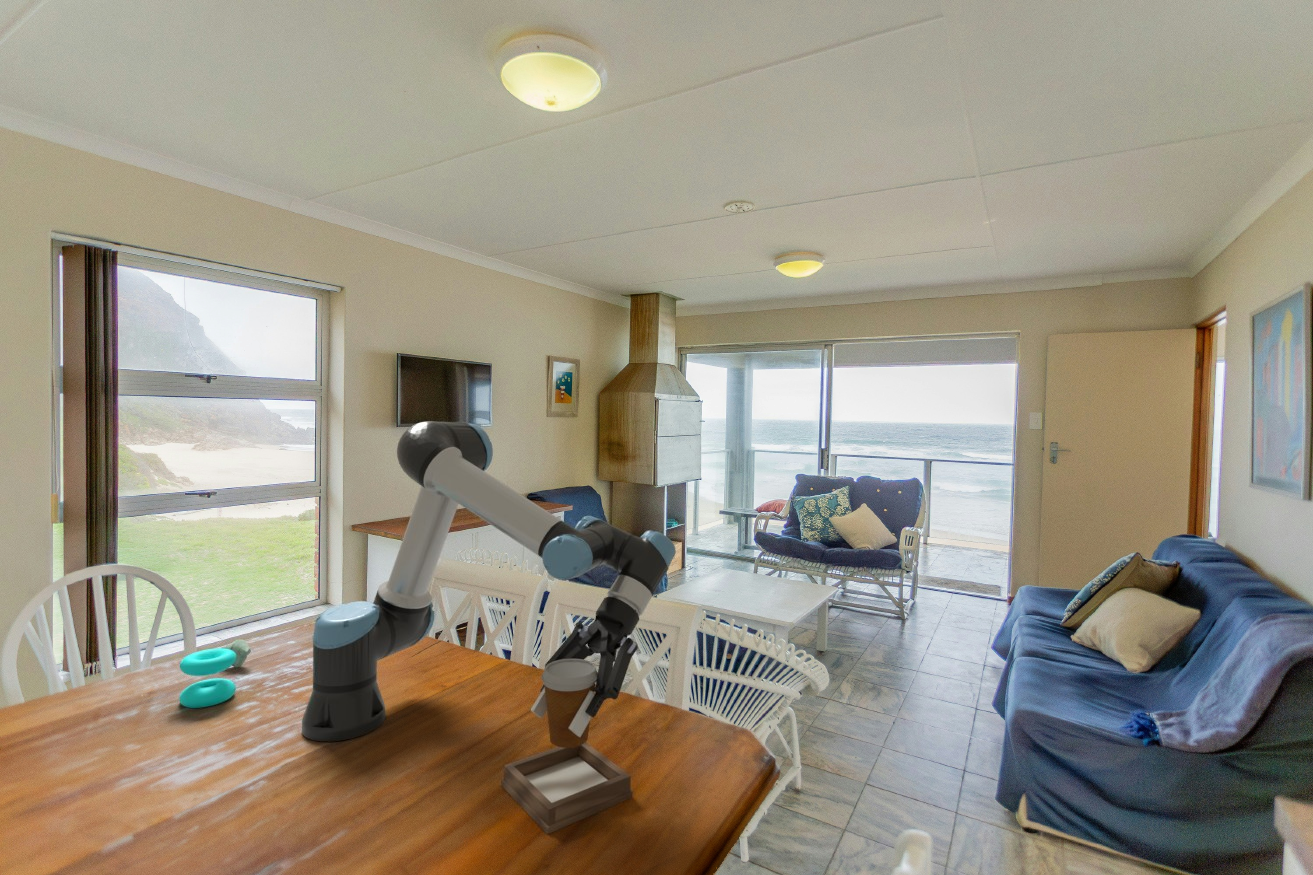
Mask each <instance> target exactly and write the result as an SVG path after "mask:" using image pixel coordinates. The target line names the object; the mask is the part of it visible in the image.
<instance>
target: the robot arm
mask: <svg viewBox="0 0 1313 875" xmlns="http://www.w3.org/2000/svg"><path fill="white" fill-rule="evenodd" d="M396 447H397V448H396V449H397V450H396V456H397V461H398V464H399V465H400V467H401V469H402V471H403V472H404V473H405V474H406V475H407V476H408V477H409V478H410V479H411V480H412V481H413V482H415V483H416V484H418V485H419V486H420V488H419V492H418V494H417V498H416V500H415V502H414V505H413V509H412V511H411V514H410V517H409V520H408V523H407V525H406V529H405V532H404V535H403V538H402V539H401V540H402V541H401V544H400V546H399V550H398V552H397V555H396V558H395V561H394V564H393V566H392V570H391V573H390V576H389V579H388V580H387V581H384V582H382V583H381V584H380V585H379V586H378V589H377V592H376V594H375V597H374V600H373V602H371V601H366V600H363V601H362V600H361V601H360V600H359V601H357V600H356V601H351V602H350V601H349V602H348V603H340V604H337V605H333V606H331V607H329V608H328V609H326V610H324V611H322V612H321V613H320V614H318V616H317V618H316V619H315V622H314V629H313V630H314V631H313V635H312V644H313V645H312V692H311V694H310V697H309V700H308V702H307V704H306V705H307V706H306V708H305V711H304V713H303V716H302V721H301V733H302V734H301V735H303V736H304V737H305V738H306V739H308V740H311V741H317V742H324V743H325V742H329V743H330V742H340V741H345V740H351V739H355V738H358V737H361V736H363V735H366V734H369V733H370V732H372V731H375V730H376V729H377V728H379V727H380V726H382V724H383V723H384V721H385V719H386V705H385V701H384V698H383V696H382V693H381V690H380V687H379V684H378V681H377V680H378V678H377V674H378V672H377V671H378V670H377V669H378V661H381V660H382V659H384V658H386V657H390V656H391V655H393V654H396V653H398V652H400V651H403V650H405V649H408V648H410V647H413V646H415V645H416V644H418V643H419V642H420V641H422V640H423V639H424V638H425V637H426V636H427V635H428V634H429V633H430V632H431V630H432V627H433V626H434V622H435V617H436V616H435V614H436V613H435V611H434V610H433V607H434V605H433V602H432V600H433V597H432V595H431V592H430V591H429V588H430V586H431V582H432V579H433V577H434V573H435V572H436V569H437V565H438V562H439V560H440V557H441V554H442V552H443V548H444V545H445V542H446V539H447V537H448V535H449V531H450V528H451V527H452V526H451V525H452V523H453V520H454V518H455V515H456V512H457V509H458V506H459V505H461V507H463V508H465V509H467V510H468V511H469V512H471V513H472V514H474V515H476V516H477V517H479V519H482V520H483V521H485V522H486V523H488V525H491V526H492V527H494V528H495V529H497V530H499V531H500V532H502V533H503V534H504V535H506V536H507V537H509V538H511V539H512V540H513V541H515V542H517V543H518V544H520V545H521V546H523V547H524V548H526V549H528V550H529V551H530V552H532V553H533V554H535V555H537V556H538V557H539V558H541V559H542V564H543V566H544V568H545V571H546V572H547V574H548V575H550V576H551V577H553V578H554V579H556V580H560V581H567V580H572V579H574V578H579V577H581V576H583V575H584V574H587V573H588V572H590V571H591V570H594V569H596V568H598V567H600V566H602V565H603V566H606V567H607V568H611V569H612V570H614V571H616V572H619V573H618V575H617V577H616V578H615V580H614V582H613V584H612V585H611V587H610V588H609V590H608V591H607V593H606V597H604V598H603V600H602V602H601V603H600V605H599V606H598V608H597V610H596V612H595V619H594V621H593V622H592V623H590V624H589V625H585V624H583V623H582V622H581V621H579V622H577V623H576V624H575V626H574V628H573V630H572V632H571V633H570V634H569V636H568V637H567V638H566V639H565V640H564V642H563V643H562V644H561V645H560V646H559V648H557V650H556V651H555V652H554V653H553V654H552V656H551V657H550V658H549V659H548V661H547V662H545V664H544V668H545V667H546V665H548V664H549V663H551V662H554V661H557V660H562V659H583V660H586V659H587V657H592V656H593V655H594V654H599V655H600V656H599V657H600V658H599V664H598V670H597V672H598V675H597V681H596V683H595V687H594V688H593V690H594V692H592V691H589V693H588V695H587V696H586V698H585V700H584V702H583V703H582V705H581V707H580V709H579V710H578V712H577V714H576V716H575V717H574V719H573V721H572V723H571V724H570V726H569V729H570V730H571V731H572V732H573V733H574V734H576V735H577V736H578V737H581V735H582V733H583V732H584V730H585V728H586V726H587V724H588V723H589V721H590V722H591V719H592V718H595V717H596V716H597V714H598V712H599V710H600V709H601V707H602V705H603V703H604V701H606V700H607V699H612V700H616V699H618V698H619V696H620V695H619V694H620V691H621V689H622V686H623V684H624V681H625V677H626V675H627V672H628V668H629V665H630V663H631V660H632V658H633V656H634V654H636V651H637V650H638V649H639V648H638V647H639V646H638V645H637V643H636V642H635V641H634V640H633V639H632V638H631V637H628V636H631V635H632V633H633V632H634V630H635V628H636V627H637V625H638V623H639V621H640V616H642V615H643V613H644V612H645V610H646V608H647V606H648V604H649V603H650V601H651V599H652V598H653V596H654V593H655V591H657V589H658V586H659V585H660V583H661V582H662V580H663V578H664V576H665V575H666V573H667V572H668V571H669V567H670V565H671V563H672V561H673V559H674V557H675V555H676V552H677V550H676V546H675V544H674V542H673V541H672V540H671V538H669V537H667V536H666V535H665V534H663V533H661V532H660V531H656V530H655V531H654V530H653V529H651V530H646V531H644V533H643V534H642V535H641V536H640V537H639V536H637V535H635V534H632V533H629V532H627V531H625V530H623V529H620V528H619V527H616V526H615V525H612V524H611V523H609V522H606V521H605V520H604V519H601V518H597V517H594V516H592V515H586V516H583V517H582V518H581V520H579V521H578V522H577V523H576V525H575V526H574V527H573V526H572V525H569V524H568V523H566V522H564V521H563V520H562V519H560V518H559V517H557V516H555V515H554V514H552V513H551V512H549V511H548V510H547V509H544V508H543V507H541V506H540V505H538V504H537V503H536V502H533V501H532V500H530V499H528V498H527V497H526V496H524V495H522V494H521V493H519V492H517V491H516V490H515V489H512V488H511V487H510V486H508V485H506V484H505V483H503V482H501V481H500V480H498V479H497V478H495V477H493V476H492V475H490V474H489V473H488V472H486V470H487V469H488V468H489V467H490V465H491V464H492V460H493V452H494V448H493V444H492V441H491V439H490V437H489V434H488V433H487V432H486V431H485V430H484V429H483V428H482V427H481V426H479V425H477V424H474V423H467V422H465V421H434V420H433V421H430V420H429V421H427V420H426V421H421V422H418V423H415V424H413V425H411V426H410V427H408V428H407V429H406V430H405V431H404V432H403V434H402V435H401V436H400V438H399V441H398V443H397V446H396ZM618 649H619V650H618ZM539 692H540V694H539V695H538V697H537V699H536V700H535V702H534V704H533V705H532V706H531V709H530V711H531V712H532V713H534V715H536V716H537V718H540V719H543V718H544V716H545V714H546V713H547V705H546V695H545V686H544V684H542V686H541V688H540V691H539Z"/></svg>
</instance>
